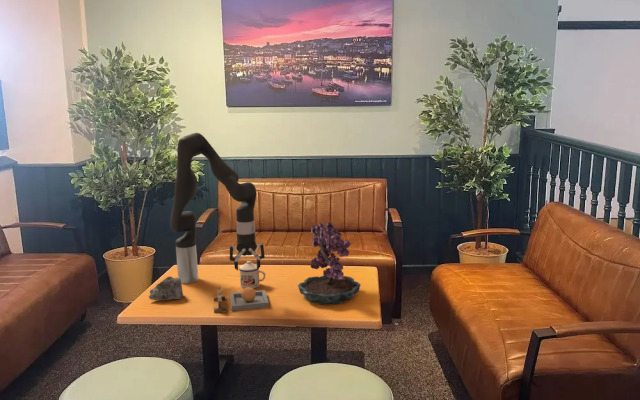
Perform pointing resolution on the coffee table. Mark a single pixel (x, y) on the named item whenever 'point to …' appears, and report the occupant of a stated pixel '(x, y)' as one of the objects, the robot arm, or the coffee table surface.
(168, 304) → the coffee table surface
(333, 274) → the bonsai tree
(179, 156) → the robot arm
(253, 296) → the ball
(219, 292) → the fence
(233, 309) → the tray
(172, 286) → the mineral rock
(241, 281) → the teacup with lid
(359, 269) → the coffee table surface
